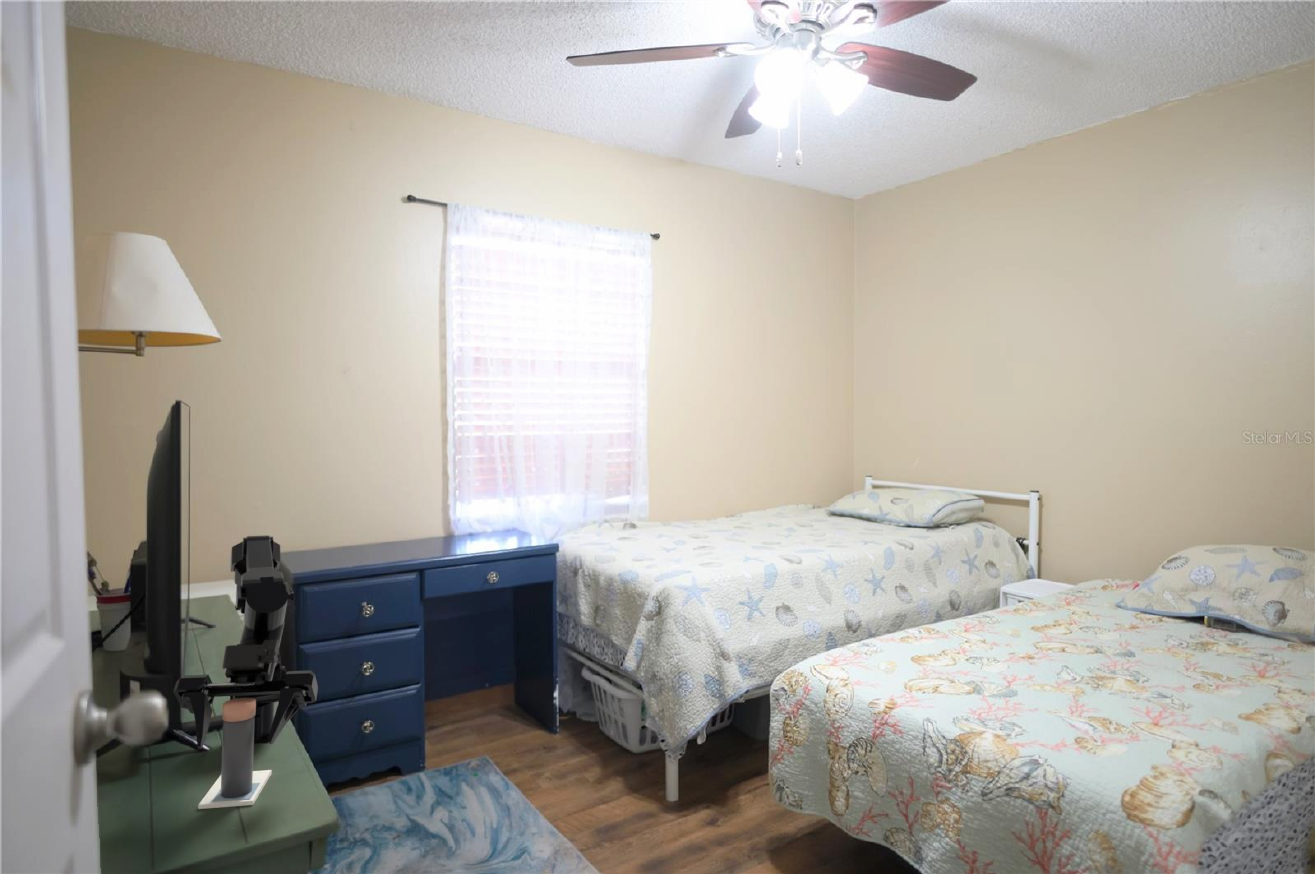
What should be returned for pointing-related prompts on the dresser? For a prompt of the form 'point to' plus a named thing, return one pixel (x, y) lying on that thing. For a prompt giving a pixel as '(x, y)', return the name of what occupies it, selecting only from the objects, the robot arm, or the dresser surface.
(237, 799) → the notepad
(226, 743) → the bottle
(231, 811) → the dresser surface
